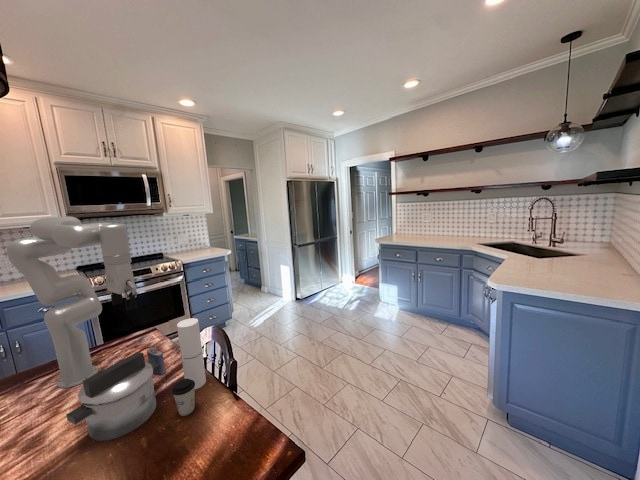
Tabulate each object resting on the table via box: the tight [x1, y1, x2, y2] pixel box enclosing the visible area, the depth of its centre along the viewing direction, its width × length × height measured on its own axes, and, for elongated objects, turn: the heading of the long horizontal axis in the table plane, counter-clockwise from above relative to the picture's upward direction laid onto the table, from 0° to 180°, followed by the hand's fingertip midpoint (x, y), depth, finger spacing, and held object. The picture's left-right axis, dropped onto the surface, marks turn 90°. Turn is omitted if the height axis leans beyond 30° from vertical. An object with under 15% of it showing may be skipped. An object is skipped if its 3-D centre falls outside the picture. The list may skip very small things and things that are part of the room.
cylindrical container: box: [176, 317, 207, 390], centre depth 100 cm, size 7×7×25 cm
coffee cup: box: [171, 378, 196, 417], centre depth 88 cm, size 7×7×10 cm
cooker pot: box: [65, 362, 161, 442], centre depth 87 cm, size 18×26×12 cm
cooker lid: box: [77, 351, 154, 406], centre depth 85 cm, size 19×19×6 cm
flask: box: [146, 346, 166, 376], centre depth 109 cm, size 9×3×11 cm, turn 61°
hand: (124, 306), depth 94 cm, fingers open, 9 cm apart
